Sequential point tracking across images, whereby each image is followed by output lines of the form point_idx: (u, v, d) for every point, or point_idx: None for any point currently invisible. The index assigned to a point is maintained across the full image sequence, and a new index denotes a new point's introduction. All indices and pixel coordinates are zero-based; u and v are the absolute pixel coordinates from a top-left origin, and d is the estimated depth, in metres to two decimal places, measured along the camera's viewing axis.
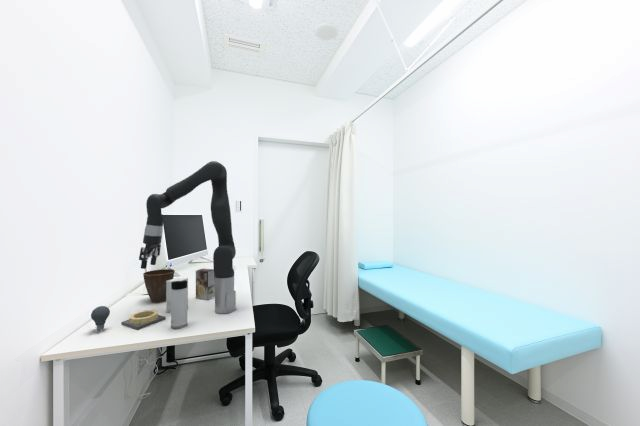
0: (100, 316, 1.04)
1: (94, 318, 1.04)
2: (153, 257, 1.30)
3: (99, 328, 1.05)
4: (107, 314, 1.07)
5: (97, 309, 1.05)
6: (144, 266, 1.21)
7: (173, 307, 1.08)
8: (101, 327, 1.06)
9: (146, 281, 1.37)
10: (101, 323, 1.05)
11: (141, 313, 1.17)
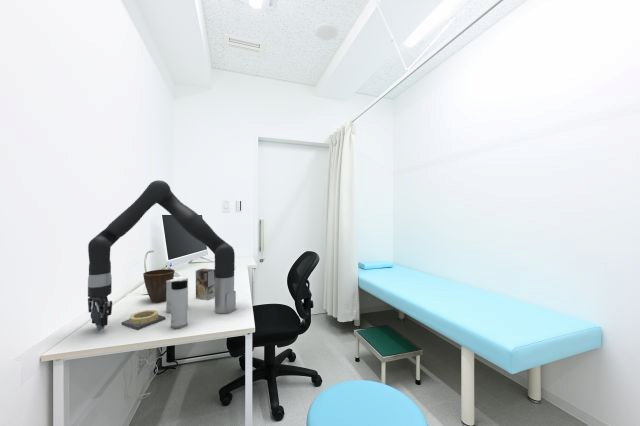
0: None
1: (94, 318, 1.04)
2: None
3: (99, 328, 1.05)
4: None
5: None
6: (106, 322, 1.05)
7: (173, 307, 1.08)
8: (101, 327, 1.06)
9: (146, 281, 1.37)
10: None
11: (141, 313, 1.17)
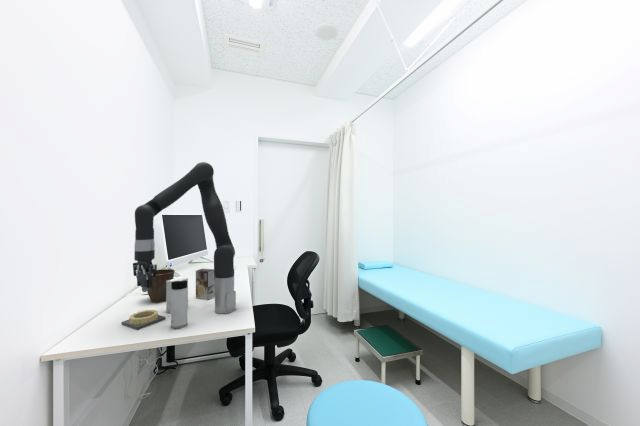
0: (145, 278, 1.13)
1: (140, 280, 1.12)
2: None
3: (144, 289, 1.14)
4: None
5: (142, 272, 1.13)
6: (151, 284, 1.14)
7: (173, 307, 1.08)
8: (146, 289, 1.14)
9: None
10: None
11: (141, 313, 1.17)
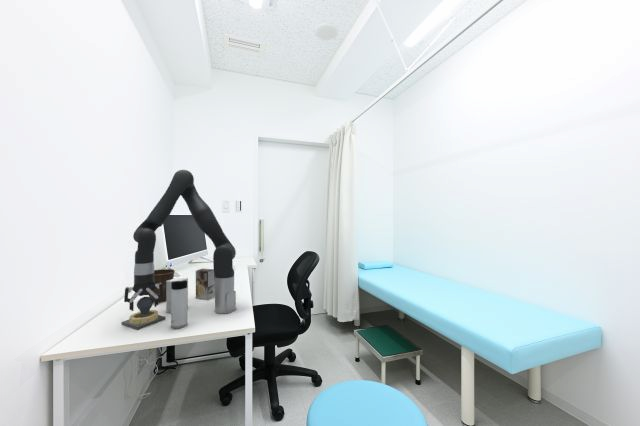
0: (152, 303, 1.16)
1: (148, 306, 1.14)
2: (133, 301, 1.12)
3: (147, 316, 1.15)
4: None
5: (147, 298, 1.14)
6: None
7: (173, 307, 1.08)
8: None
9: None
10: None
11: None
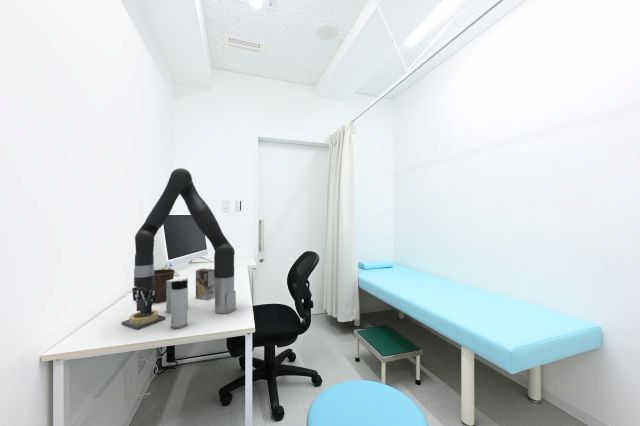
0: None
1: None
2: None
3: (147, 316, 1.15)
4: None
5: None
6: None
7: (173, 307, 1.08)
8: (147, 315, 1.16)
9: None
10: None
11: None
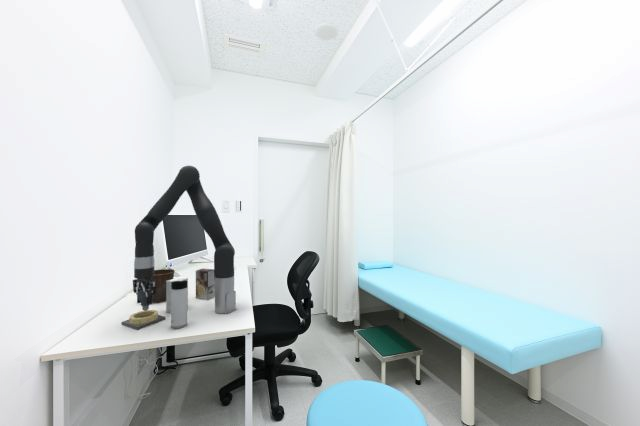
0: None
1: None
2: None
3: (147, 308, 1.15)
4: None
5: None
6: (151, 301, 1.14)
7: (173, 307, 1.08)
8: (148, 307, 1.16)
9: None
10: None
11: (141, 313, 1.17)
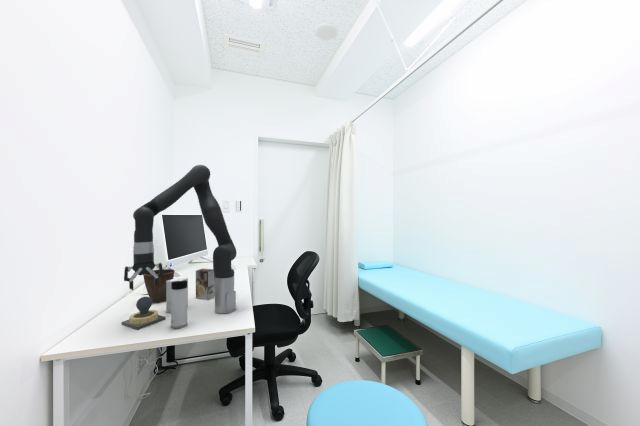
0: None
1: (151, 304, 1.17)
2: (132, 281, 1.12)
3: None
4: None
5: (149, 297, 1.16)
6: None
7: (173, 307, 1.08)
8: None
9: (146, 281, 1.37)
10: None
11: None
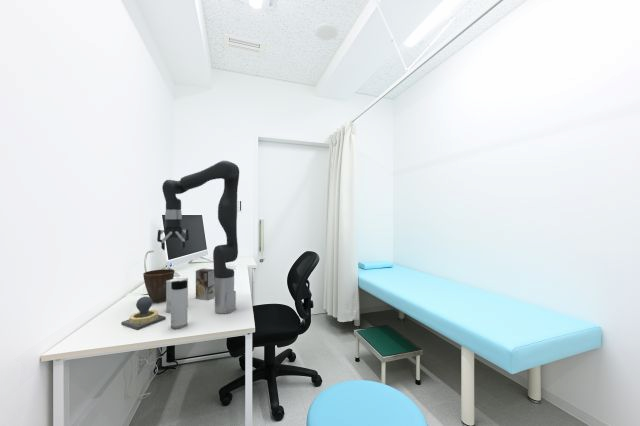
0: None
1: (151, 304, 1.17)
2: None
3: None
4: None
5: (149, 297, 1.16)
6: None
7: (173, 307, 1.08)
8: None
9: (146, 281, 1.37)
10: None
11: None
